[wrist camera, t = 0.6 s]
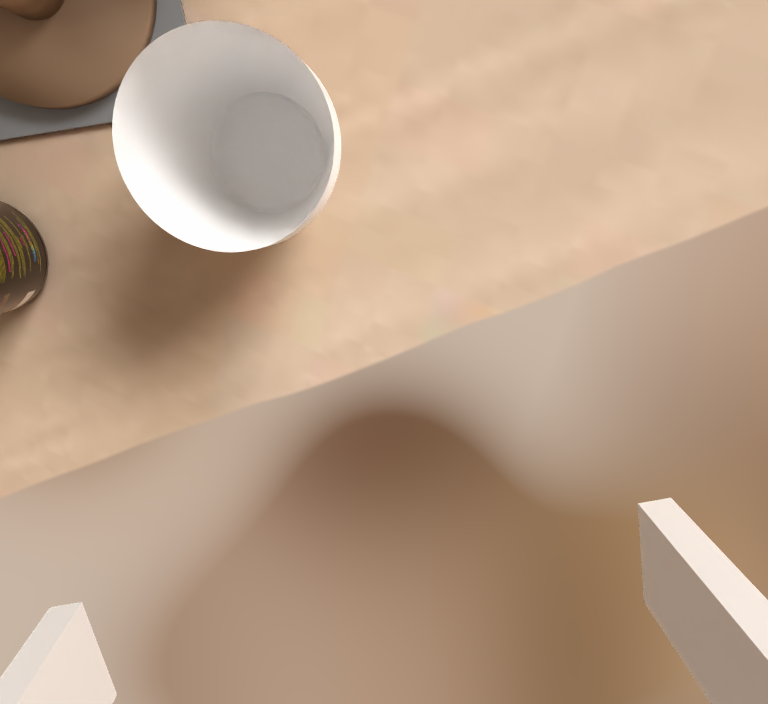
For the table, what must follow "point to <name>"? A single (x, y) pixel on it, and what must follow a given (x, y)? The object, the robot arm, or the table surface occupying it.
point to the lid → (70, 48)
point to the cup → (225, 137)
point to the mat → (24, 120)
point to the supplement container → (20, 259)
